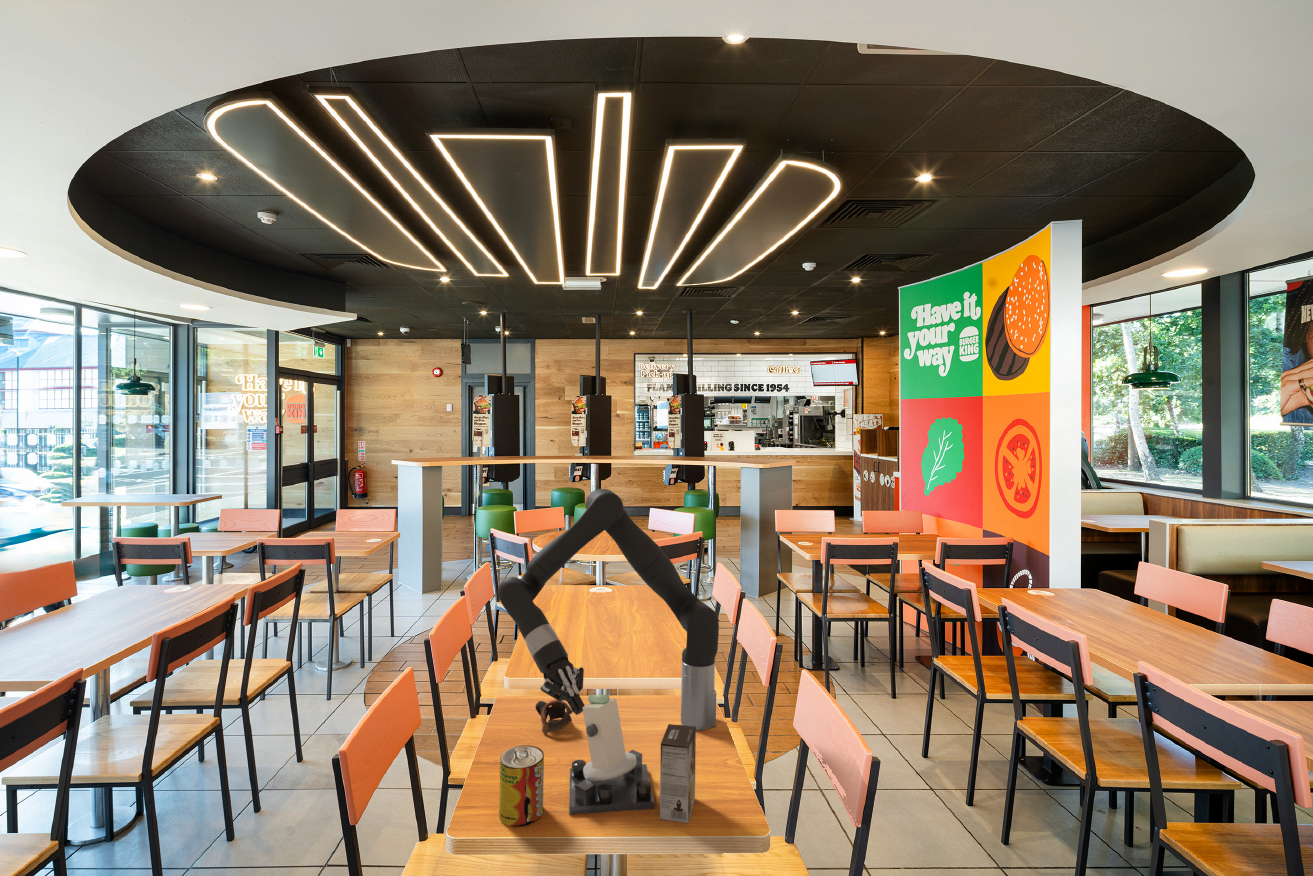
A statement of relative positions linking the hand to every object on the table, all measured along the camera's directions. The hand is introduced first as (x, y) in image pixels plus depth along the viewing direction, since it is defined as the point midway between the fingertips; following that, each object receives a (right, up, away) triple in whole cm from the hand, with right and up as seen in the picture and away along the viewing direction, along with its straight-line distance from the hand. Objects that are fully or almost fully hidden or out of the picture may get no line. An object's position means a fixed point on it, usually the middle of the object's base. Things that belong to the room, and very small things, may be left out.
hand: (580, 712), depth 141 cm
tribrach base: (+7, -15, -6) cm, 18 cm away
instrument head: (+7, -10, -6) cm, 14 cm away
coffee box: (+22, -16, -12) cm, 30 cm away
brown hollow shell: (-11, -15, +24) cm, 30 cm away
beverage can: (-11, -15, -14) cm, 23 cm away
